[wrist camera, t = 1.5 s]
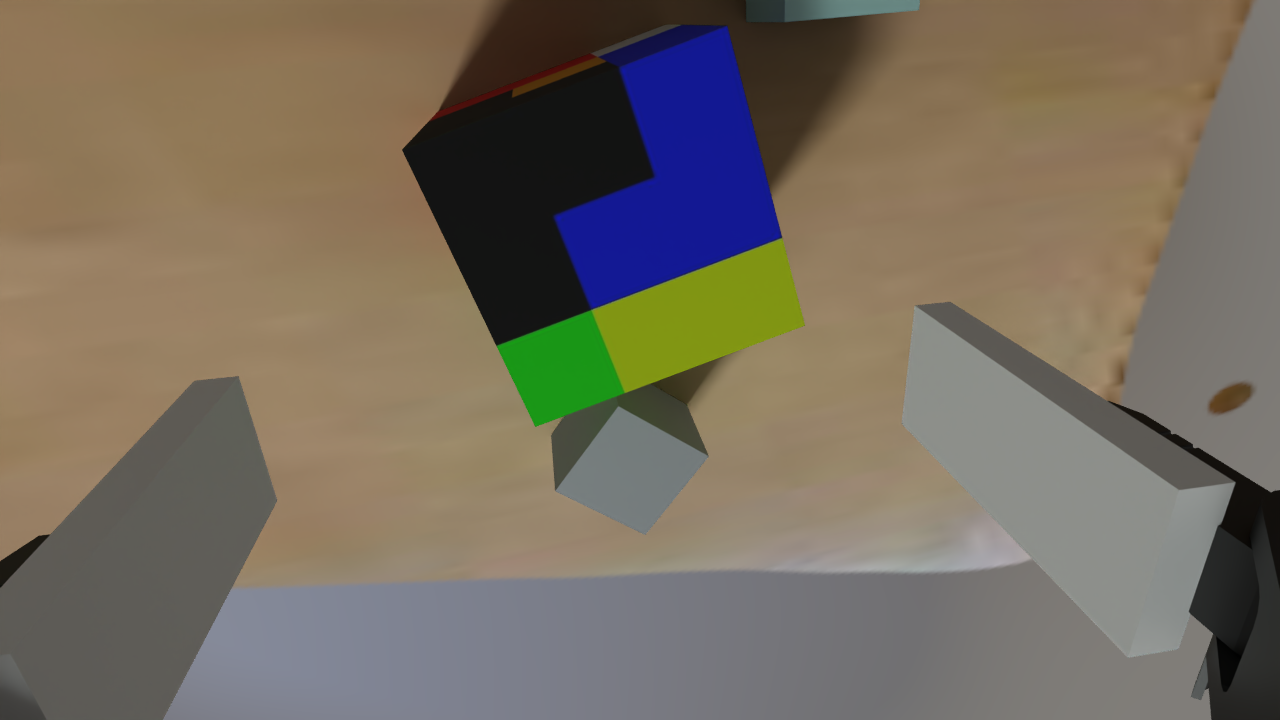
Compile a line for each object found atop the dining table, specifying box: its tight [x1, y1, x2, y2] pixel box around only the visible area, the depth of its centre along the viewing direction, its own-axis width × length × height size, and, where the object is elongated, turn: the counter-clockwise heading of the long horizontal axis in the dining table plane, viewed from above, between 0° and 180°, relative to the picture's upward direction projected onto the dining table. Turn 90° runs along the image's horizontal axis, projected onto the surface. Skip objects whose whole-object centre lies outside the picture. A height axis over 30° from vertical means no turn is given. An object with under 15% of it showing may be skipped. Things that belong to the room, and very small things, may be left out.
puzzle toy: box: [402, 24, 805, 427], centre depth 28 cm, size 10×10×10 cm
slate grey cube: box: [551, 384, 709, 535], centre depth 35 cm, size 5×5×5 cm
